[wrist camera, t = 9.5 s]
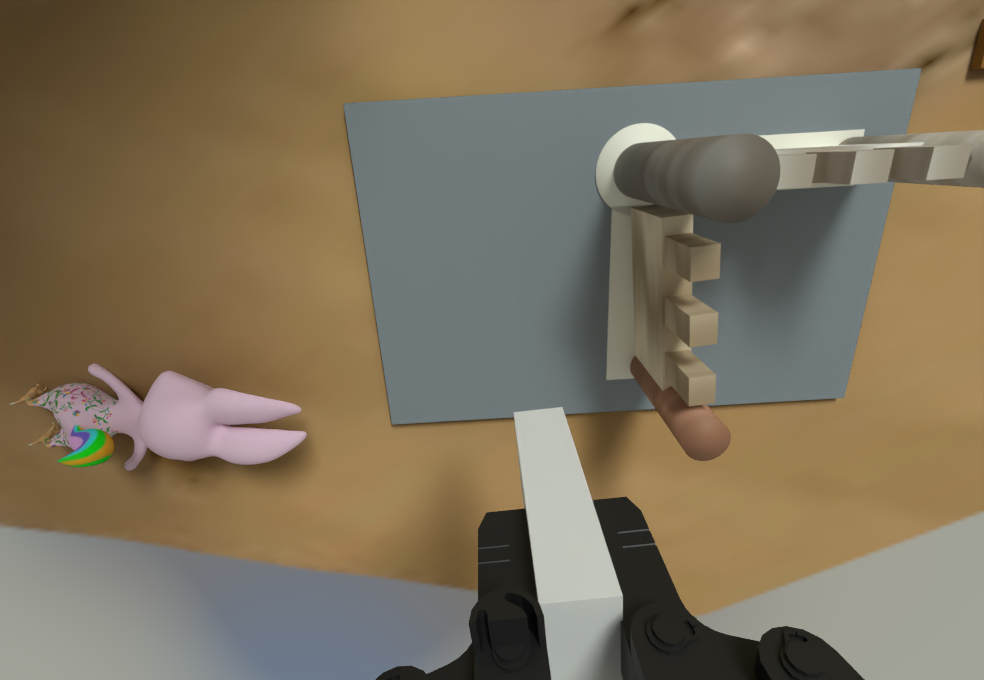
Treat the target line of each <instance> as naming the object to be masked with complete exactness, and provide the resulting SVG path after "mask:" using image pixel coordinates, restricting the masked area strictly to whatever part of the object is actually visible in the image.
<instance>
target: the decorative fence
mask: <svg viewBox="0 0 984 680" xmlns="http://www.w3.org/2000/svg"><path fill="white" fill-rule="evenodd" d="M977 69H984V19H983V20H982V23H981V27H980V31H979V35H978V39H977V43H976V48H975V52H974V56H973V60H972V64H971V68H970V70H977Z"/></svg>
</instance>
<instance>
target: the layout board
mask: <svg viewBox="0 0 984 680" xmlns="http://www.w3.org/2000/svg"><path fill="white" fill-rule="evenodd" d="M921 69H922V68H918V69H902V70H885V71H869V72H852V73H836V74H820V75H803V76H787V77H770V78H754V79H737V80H721V81H704V82H688V83H672V84H655V85H639V86H622V87H606V88H589V89H573V90H556V91H540V92H524V93H507V94H491V95H474V96H458V97H441V98H425V99H408V100H392V101H376V102H359V103H343V105H344V111H345V118H346V125H347V131H348V138H349V144H350V151H351V158H352V164H353V171H354V177H355V184H356V190H357V197H358V204H359V210H360V217H361V223H362V230H363V237H364V243H365V250H366V256H367V263H368V269H369V276H370V283H371V289H372V296H373V302H374V309H375V316H376V322H377V329H378V335H379V342H380V349H381V355H382V362H383V368H384V375H385V381H386V388H387V395H388V401H389V408H390V414H391V421H392V424H409V423H426V422H443V421H460V420H477V419H494V418H511V417H514V412H521V411H530V410H539V409H548V408H558V407H563V410H564V414H578V413H595V412H612V411H629V410H646V409H655V407H654V406H653V405H652V403H651V402H650V400H649V399H648V397H647V396H646V394H645V393H644V391H643V390H642V389H641V387H640V386H639V384H638V383H637V381H636V380H635V378H634V377H633V375H632V374H631V371H630V364H631V361H632V359H633V358H634V357H635V325H634V292H633V260H632V228H631V208H632V207H639V206H646V205H653V204H652V203H649V202H645V201H641V200H638V199H634V198H630V197H628V196H626V195H624V194H623V193H621V192H620V190H619V189H618V188H617V186H616V184H615V181H614V166H615V163H616V161H617V159H618V157H619V155H620V154H621V153H622V152H623V151H624V150H625V149H626V148H628V147H629V146H631V145H633V144H636V143H643V142H654V141H665V140H676V139H687V138H698V137H709V136H720V135H731V134H742V133H749V134H755V135H758V136H760V137H762V138H764V139H766V140H767V141H768V142H769V143H770V144H771V145H772V146H773V147H774V149H782V148H798V147H815V146H831V145H839V144H840V143H841V142H842V141H844V140H846V139H848V138H851V137H863V136H882V135H900V134H906V132H907V128H908V124H909V120H910V115H911V111H912V107H913V103H914V98H915V94H916V90H917V86H918V81H919V77H920V73H921ZM894 183H895V182H887V183H871V184H854V185H847V184H833V183H812V186H811V187H804V188H788V189H776V191H775V194H774V195H773V197H772V199H771V200H770V202H769V203H768V204H767V205H766V206H765V207H764V208H763V209H762V210H761V211H760V212H759V213H757V214H756V215H755V216H753V217H751V218H749V219H747V220H744V221H741V222H737V223H723V222H718V221H715V220H711V219H707V218H704V217H700V216H696V215H693V234H696V235H698V236H701V237H704V238H707V239H710V240H712V241H715V242H718V243H721V253H720V278H718V279H711V280H704V281H696V282H692V296H694V297H695V298H697V299H698V300H700V301H701V302H703V303H704V304H706V305H708V306H709V307H711V308H712V309H714V310H715V311H717V312H718V336H717V344H713V345H705V346H698V347H691V352H692V353H693V354H694V355H695V356H696V357H697V358H699V359H700V360H701V361H702V362H703V363H704V364H705V365H706V366H707V367H708V368H709V369H710V370H711V371H713V372H714V373H715V374H716V392H715V403H712V404H706V405H707V406H714V405H731V404H748V403H764V402H781V401H798V400H815V399H832V398H844V396H845V391H846V387H847V383H848V379H849V374H850V370H851V366H852V362H853V357H854V353H855V349H856V345H857V340H858V336H859V332H860V328H861V323H862V319H863V315H864V311H865V306H866V302H867V298H868V294H869V289H870V285H871V281H872V277H873V272H874V268H875V264H876V260H877V255H878V251H879V247H880V243H881V238H882V234H883V230H884V226H885V221H886V217H887V213H888V209H889V204H890V200H891V196H892V192H893V188H894Z"/></svg>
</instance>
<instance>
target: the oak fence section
mask: <svg viewBox="0 0 984 680" xmlns="http://www.w3.org/2000/svg"><path fill="white" fill-rule="evenodd" d="M631 228H632V260H633V292H634V325H635V357H634V358H633V359H632V361H631V364H630V371H631V374H632V375H633V377H634V378H635V380H636V381H637V383H638V384H639V386H640V387H641V389H642V390H643V391H644V393H645V394H646V396H647V397H648V399H649V400H650V402H651V403H652V405H653V406H654V407H655V409H656V410H657V412H658V413H659V415H660V416H661V418H662V419H663V421H664V422H665V423H666V425H667V426H668V428H669V429H670V431H671V432H672V434H673V435H674V436H675V438H676V439H677V441H678V442H679V444H680V445H681V447H682V448H683V450H684V451H685V452H686V454H687V455H688V456H689V457H691V458H692V459H695V460H699V461H707V460H711V459H714V458H716V457H718V456H720V455H721V454H722V453H723V452H724V451H725V450H726V449H727V447H728V446H729V443H730V438H731V436H730V431H729V429H728V428H727V427H726V425H725V424H724V423H723V422H722V421H721V420H720V419H719V418H718V417H717V416H716V414H715V413H714V412H713V411H712V410H711V409H710V408H709V407H708V406H707V405H706V404H712V403H715V392H716V374H715V373H714V372H713V371H711V370H710V369H709V368H708V367H707V366H706V365H705V364H704V363H703V362H702V361H701V360H700V359H699V358H697V357H696V356H695V355H694V354H693V353H692V352H691V347H698V346H705V345H713V344H717V336H718V312H717V311H715V310H714V309H712V308H711V307H709V306H708V305H706V304H704V303H703V302H701V301H700V300H698V299H697V298H695V297H694V296H692V282H696V281H704V280H711V279H718V278H720V253H721V243H718V242H715V241H712V240H710V239H707V238H704V237H701V236H698V235H696V234H693V214H689V213H685V212H682V211H678V210H674V209H671V208H667V207H663V206H660V205H656V204H653V205H646V206H639V207H632V208H631Z"/></svg>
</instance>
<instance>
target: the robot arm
mask: <svg viewBox="0 0 984 680" xmlns="http://www.w3.org/2000/svg"><path fill="white" fill-rule="evenodd" d="M514 421H515V430H516V440H517V449H518V459H519V468H520V478H521V487H522V495H523V503H524V509H517V510H507V511H498V512H488V513H486V515H485V517H484V519H483V520H482V522H481V524H480V526H479V528H478V602H477V603H476V605H475V606H474V607H473V609H472V611H471V616H470V620H469V627H470V633H471V638H472V644H471V645H470V646H469V648H468V649H467V651H466V652H464V653H463V655H461V656H460V657H459V658H458V659H456V660H455V661H453V662H451V663H450V664H448V665H446V666H444V667H441V668H439V669H437V670H435V671H433V672H431V673H428V674H426V673H425V672H424V671H423V670H420V669H418V668H415V667H413V666H399V667H395V668H393V669H391V670H388V671H386V672H384V673H383V674H381V675H380V676H379V677H378V678H377V679H376V680H864V679H863V678H862V677H861V676H860V675H859V674H858V673H857V672H856V671H855V670H854V669H853V668H852V666H851V665H850V664H849V663H848V662H847V661H846V660H845V659H844V658H843V657H842V656H841V655H840V654H839V653H838V652H837V651H836V650H834V649H833V648H832V647H831V646H830V645H828V644H827V643H826V642H825V641H823V640H822V639H821V638H819V637H817V636H815V635H813V634H811V633H809V632H807V631H805V630H803V629H797V628H792V627H788V626H784V627H777V628H772V629H770V630H769V631H767V632H766V633H765V634H763V635H762V637H761V640H760V642H759V641H754V640H750V639H745V638H740V637H735V636H730V635H726V634H723V633H720V632H717V631H714V630H712V629H710V628H709V627H707V626H705V625H703V624H702V623H700V622H699V621H698V620H697V619H696V618H695V617H694V616H692V615H691V614H690V613H689V612H688V611H687V609H686V608H685V606H684V605H683V603H682V601H681V600H680V598H679V595H678V593H677V591H676V589H675V586H674V584H673V582H672V580H671V577H670V575H669V573H668V570H667V568H666V566H665V564H664V561H663V559H662V557H661V555H660V552H659V550H658V548H657V546H656V545H655V541H654V539H653V537H652V534H651V532H650V531H649V528H648V525H647V523H646V521H645V519H644V516H643V514H642V512H641V510H640V509H639V508H638V507H637V506H635V505H634V504H633V503H632V502H631V501H630V500H629V499H628V498H627V497H619V498H610V499H600V500H592V498H591V495H590V492H589V489H588V485H587V482H586V479H585V476H584V473H583V470H582V467H581V464H580V460H579V457H578V454H577V451H576V448H575V445H574V442H573V439H572V435H571V432H570V429H569V426H568V423H567V420H566V417H565V414H564V410H563V407H558V408H548V409H539V410H530V411H521V412H514Z"/></svg>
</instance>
